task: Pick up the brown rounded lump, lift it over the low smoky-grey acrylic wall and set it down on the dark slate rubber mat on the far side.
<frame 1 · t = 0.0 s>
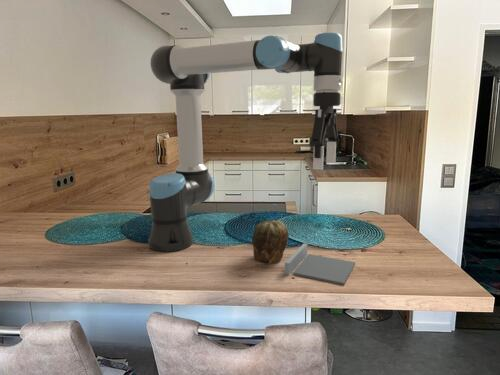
hand: (324, 165, 106), 28 cm above the countertop, fingers open, 13 cm apart
brown rounded lump: (270, 259, 110), on the countertop
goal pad: (325, 269, 102), on the countertop
acrylic wall: (296, 263, 106), on the countertop
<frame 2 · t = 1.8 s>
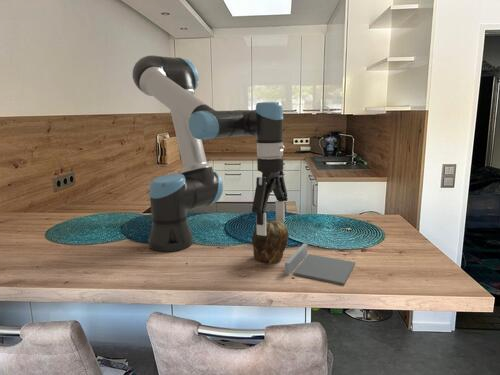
hand: (271, 227, 107), 10 cm above the countertop, fingers open, 13 cm apart
nothing on the countertop moved.
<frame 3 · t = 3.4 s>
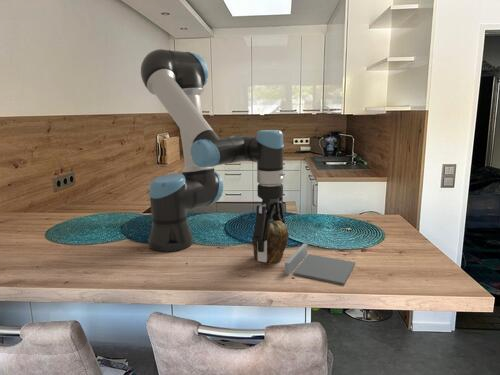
hand: (270, 254, 109), 2 cm above the countertop, fingers closed on brown rounded lump, 11 cm apart
brown rounded lump: (270, 259, 110), on the countertop, touching gripper
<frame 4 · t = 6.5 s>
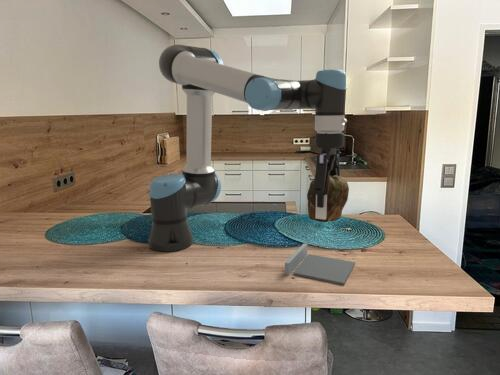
hand: (326, 212, 98), 17 cm above the countertop, fingers closed on brown rounded lump, 11 cm apart
brown rounded lump: (326, 218, 99), point 15 cm above the countertop, touching gripper
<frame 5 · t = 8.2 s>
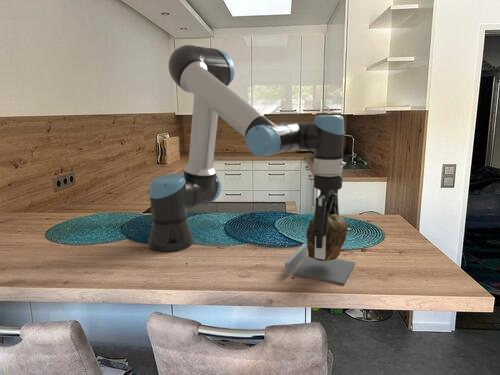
hand: (325, 250, 101), 6 cm above the countertop, fingers closed on brown rounded lump, 11 cm apart
brown rounded lump: (325, 256, 101), point 4 cm above the countertop, touching gripper
when the fingers open (4 cm above the countertop, at t = 9.7 s): brown rounded lump drops 2 cm, resting on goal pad.
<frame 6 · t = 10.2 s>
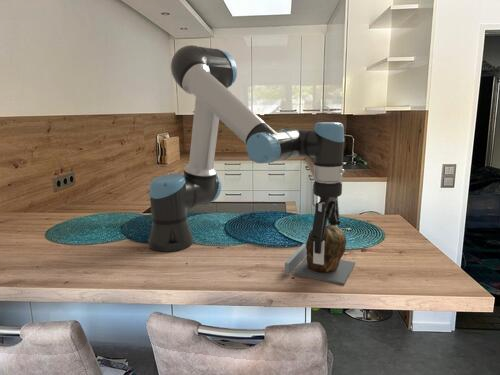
hand: (325, 254, 101), 5 cm above the countertop, fingers open, 13 cm apart
brown rounded lump: (325, 267, 102), resting on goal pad
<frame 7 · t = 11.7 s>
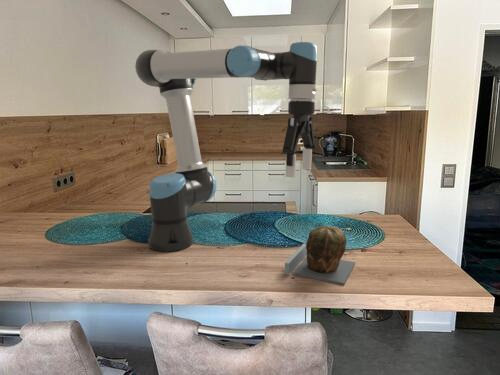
hand: (298, 173, 108), 26 cm above the countertop, fingers open, 13 cm apart
nothing on the countertop moved.
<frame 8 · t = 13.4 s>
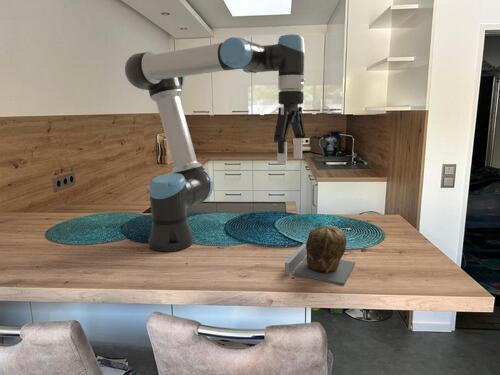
hand: (290, 161, 112), 29 cm above the countertop, fingers open, 13 cm apart
nothing on the countertop moved.
at the end: brown rounded lump 0.1 cm from the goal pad (horizontally); brown rounded lump resting on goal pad; the gripper is holding nothing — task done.
